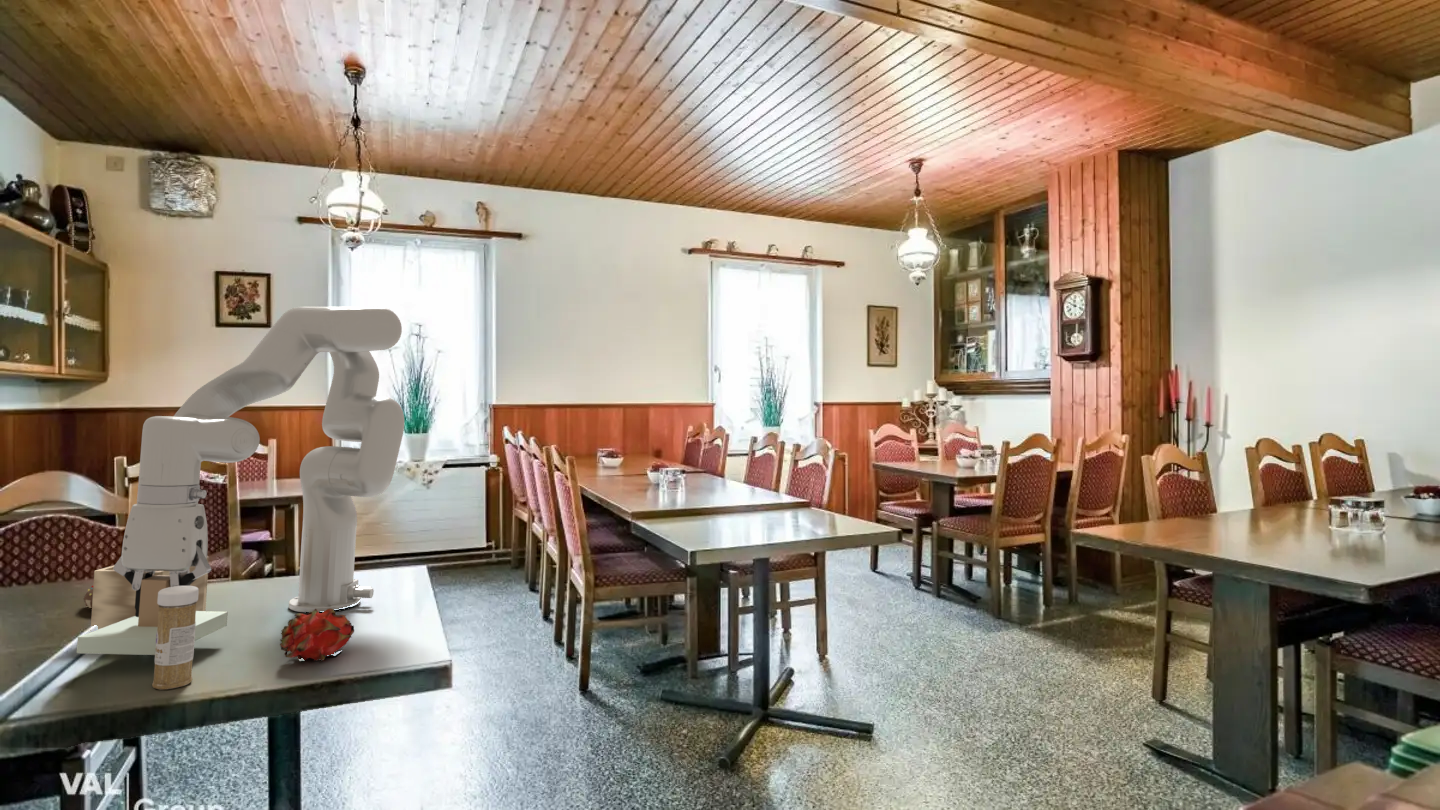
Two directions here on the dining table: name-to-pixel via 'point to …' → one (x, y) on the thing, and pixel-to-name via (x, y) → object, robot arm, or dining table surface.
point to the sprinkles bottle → (175, 637)
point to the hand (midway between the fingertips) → (159, 613)
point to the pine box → (126, 596)
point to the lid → (144, 625)
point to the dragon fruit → (315, 634)
